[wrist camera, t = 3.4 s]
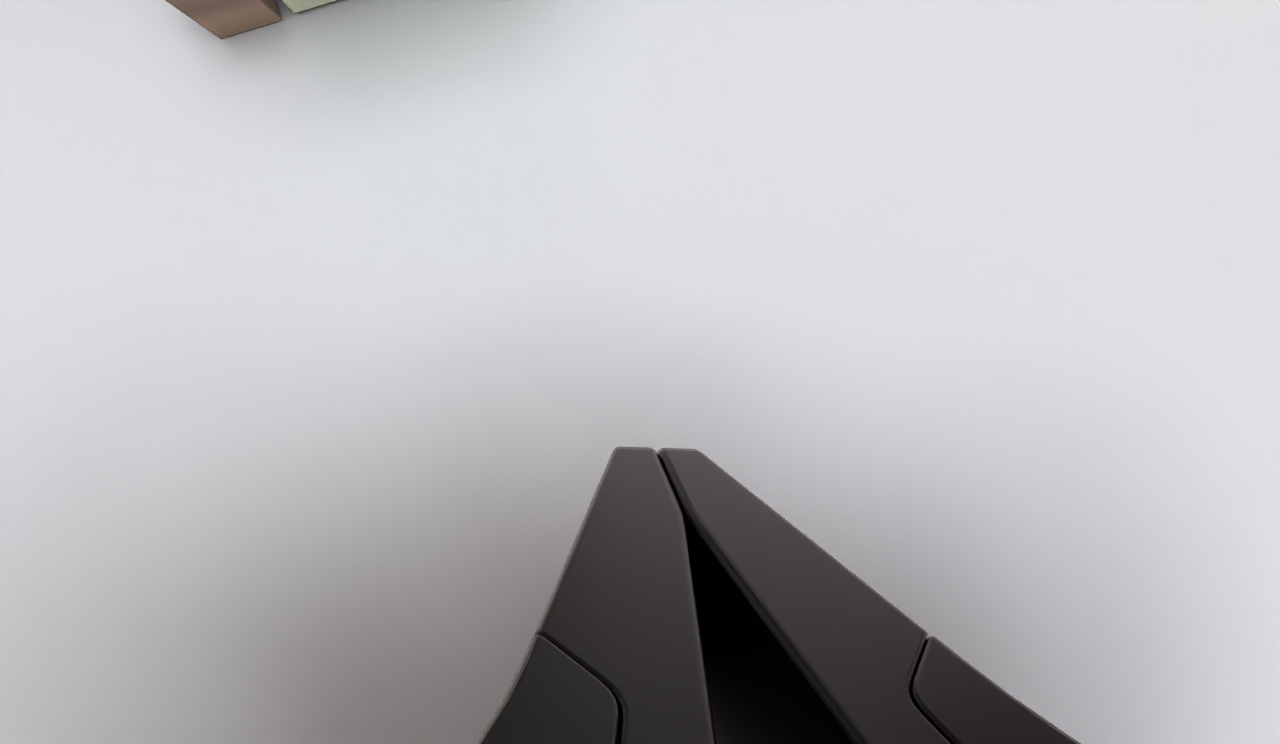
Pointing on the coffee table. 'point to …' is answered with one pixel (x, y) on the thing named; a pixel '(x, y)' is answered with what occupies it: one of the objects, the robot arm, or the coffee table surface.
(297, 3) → the pale green block
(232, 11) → the walnut console
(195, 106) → the coffee table surface
